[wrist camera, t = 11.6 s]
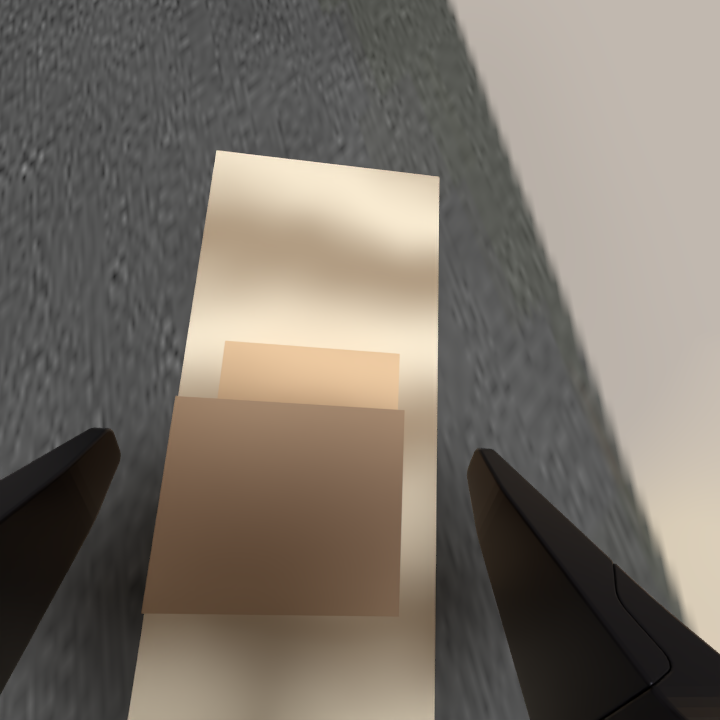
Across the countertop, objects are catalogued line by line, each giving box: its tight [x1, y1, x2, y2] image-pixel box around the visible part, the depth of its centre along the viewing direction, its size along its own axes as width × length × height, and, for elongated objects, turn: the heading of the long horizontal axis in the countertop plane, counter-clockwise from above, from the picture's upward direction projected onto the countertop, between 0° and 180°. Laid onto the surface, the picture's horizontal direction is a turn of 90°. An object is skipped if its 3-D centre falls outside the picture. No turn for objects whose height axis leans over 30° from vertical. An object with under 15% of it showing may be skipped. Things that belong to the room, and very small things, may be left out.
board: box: [128, 151, 439, 720], centre depth 15 cm, size 24×10×3 cm, turn 177°
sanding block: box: [141, 341, 405, 617], centre depth 10 cm, size 8×6×8 cm
